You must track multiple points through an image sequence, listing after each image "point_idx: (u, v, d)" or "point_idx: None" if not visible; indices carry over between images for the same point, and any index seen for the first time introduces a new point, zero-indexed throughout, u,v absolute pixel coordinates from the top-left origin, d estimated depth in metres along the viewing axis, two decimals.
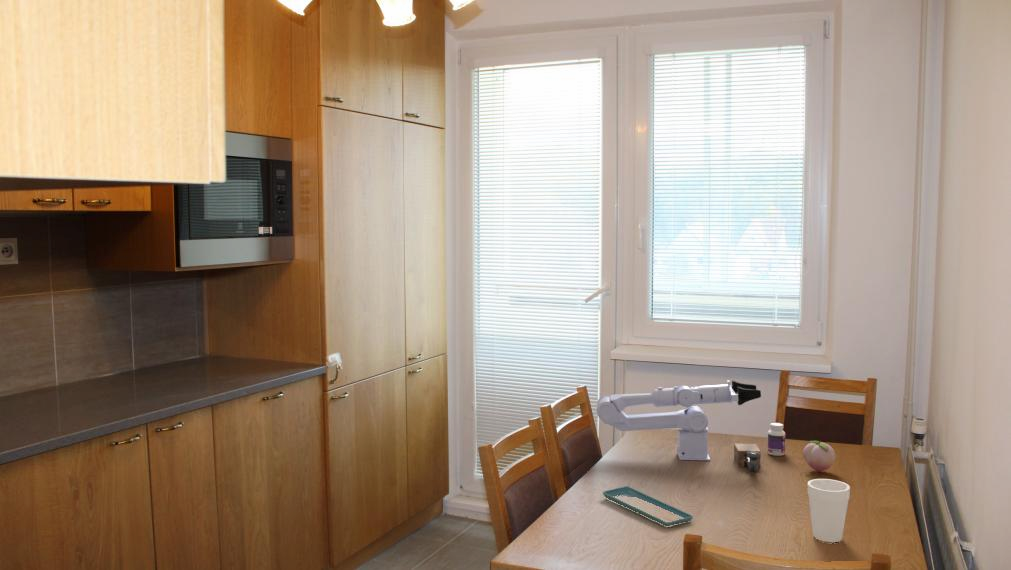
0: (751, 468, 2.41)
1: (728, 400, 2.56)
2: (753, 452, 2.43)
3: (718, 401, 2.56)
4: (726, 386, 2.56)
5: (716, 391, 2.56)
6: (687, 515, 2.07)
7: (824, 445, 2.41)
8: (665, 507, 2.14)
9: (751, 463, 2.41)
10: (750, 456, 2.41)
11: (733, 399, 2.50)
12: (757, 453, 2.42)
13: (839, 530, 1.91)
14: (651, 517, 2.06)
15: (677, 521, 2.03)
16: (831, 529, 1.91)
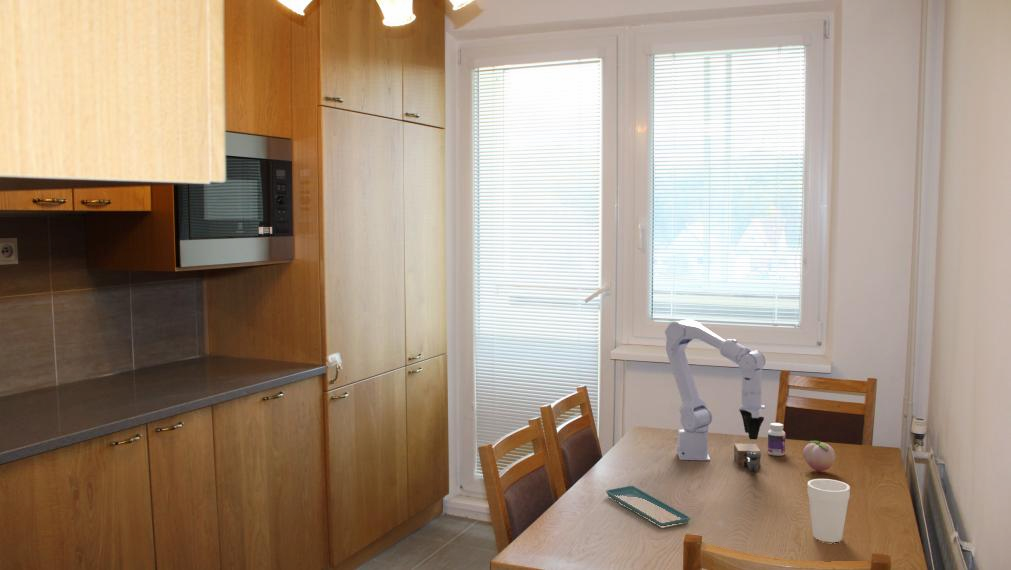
0: (751, 468, 2.41)
1: (746, 405, 2.44)
2: (753, 452, 2.43)
3: (745, 395, 2.44)
4: (760, 405, 2.44)
5: (757, 394, 2.43)
6: (685, 516, 2.06)
7: (824, 445, 2.41)
8: (665, 508, 2.13)
9: (751, 463, 2.41)
10: (750, 456, 2.41)
11: (754, 413, 2.39)
12: (757, 453, 2.42)
13: (839, 530, 1.91)
14: (648, 517, 2.06)
15: (673, 522, 2.02)
16: (831, 529, 1.91)
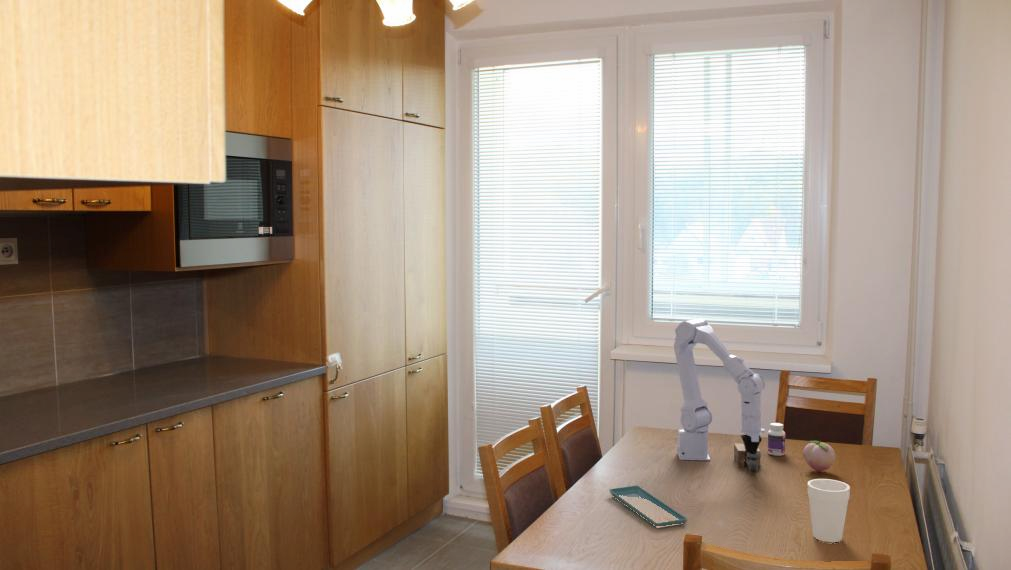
0: (751, 468, 2.41)
1: (745, 429, 2.44)
2: (753, 452, 2.42)
3: (745, 419, 2.44)
4: (760, 428, 2.45)
5: (757, 418, 2.43)
6: (682, 517, 2.05)
7: (824, 445, 2.41)
8: (665, 508, 2.13)
9: (751, 463, 2.41)
10: (750, 456, 2.40)
11: (753, 437, 2.39)
12: (757, 453, 2.41)
13: (839, 530, 1.91)
14: (644, 517, 2.06)
15: (668, 522, 2.02)
16: (831, 529, 1.91)
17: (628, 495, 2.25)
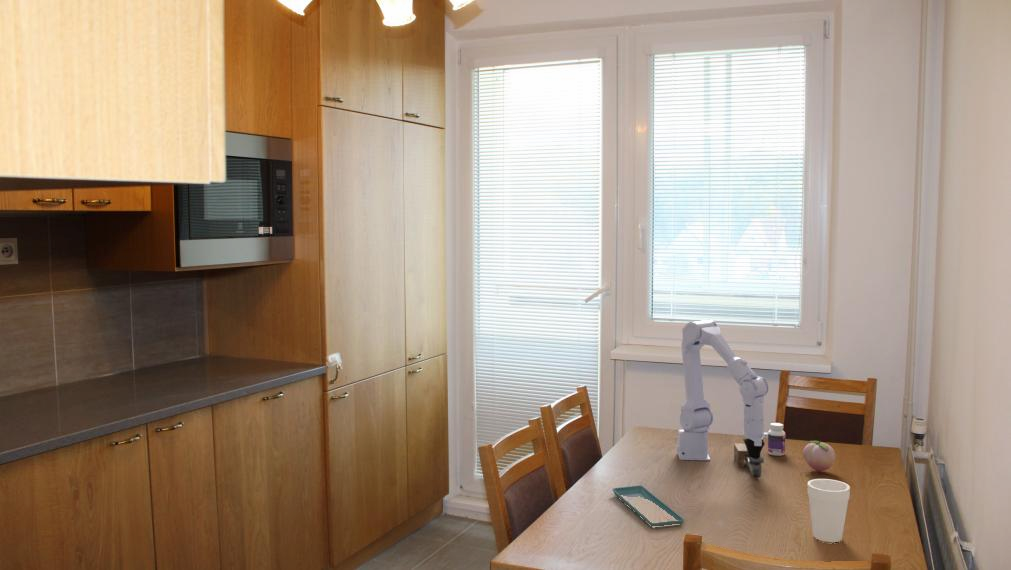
0: (754, 473, 2.37)
1: (748, 433, 2.40)
2: (756, 457, 2.38)
3: (748, 423, 2.40)
4: (763, 432, 2.40)
5: (760, 422, 2.39)
6: (680, 518, 2.05)
7: (824, 445, 2.41)
8: (665, 509, 2.12)
9: (754, 468, 2.37)
10: (753, 461, 2.36)
11: (756, 441, 2.35)
12: (760, 458, 2.37)
13: (839, 530, 1.91)
14: (642, 516, 2.07)
15: (664, 523, 2.02)
16: (831, 529, 1.91)
17: (631, 495, 2.25)
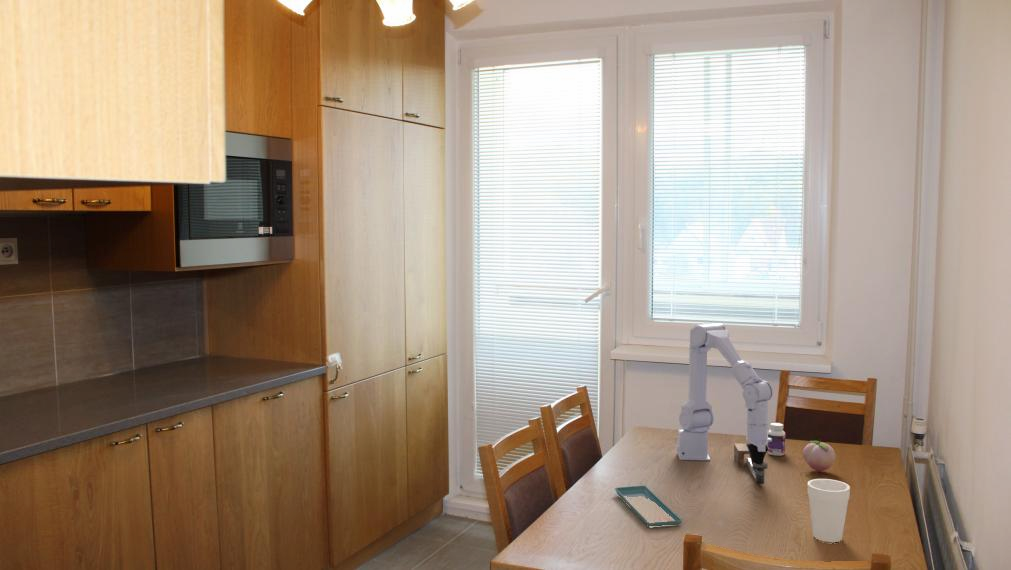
0: (757, 479, 2.31)
1: (751, 438, 2.34)
2: (759, 462, 2.32)
3: (751, 427, 2.34)
4: (766, 437, 2.34)
5: (763, 427, 2.33)
6: (678, 519, 2.04)
7: (824, 445, 2.41)
8: (665, 509, 2.12)
9: (757, 474, 2.31)
10: (756, 467, 2.30)
11: (760, 446, 2.29)
12: (764, 463, 2.31)
13: (839, 530, 1.91)
14: (640, 516, 2.07)
15: (661, 523, 2.02)
16: (831, 529, 1.91)
17: (634, 494, 2.25)
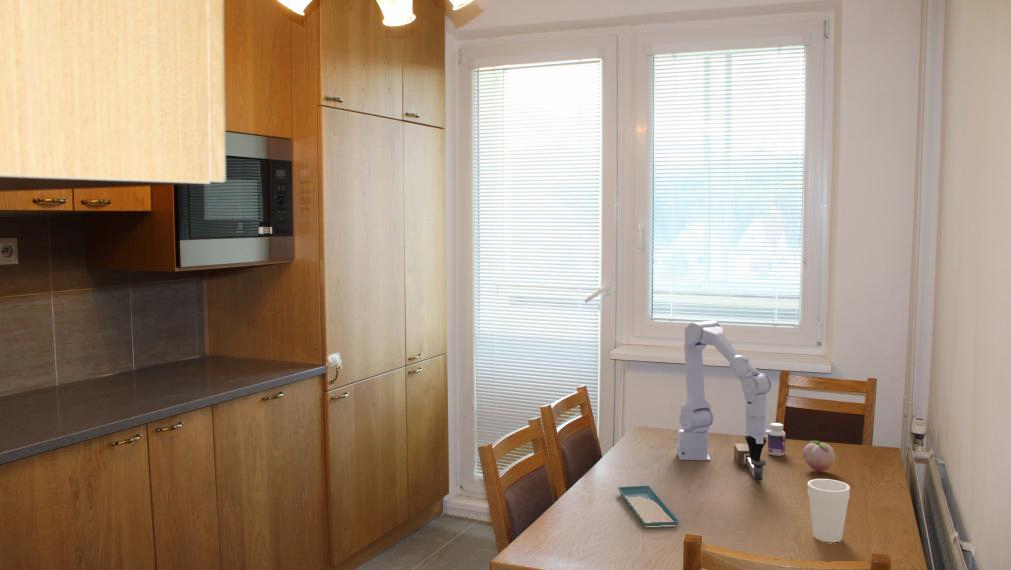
0: (756, 476, 2.34)
1: (750, 430, 2.37)
2: (758, 459, 2.35)
3: (749, 420, 2.37)
4: (765, 429, 2.37)
5: (762, 419, 2.36)
6: (675, 519, 2.04)
7: (824, 445, 2.41)
8: (665, 509, 2.12)
9: (756, 471, 2.34)
10: (755, 464, 2.33)
11: (758, 438, 2.32)
12: (762, 461, 2.34)
13: (839, 530, 1.91)
14: (638, 516, 2.07)
15: (658, 523, 2.02)
16: (831, 529, 1.91)
17: (636, 494, 2.25)
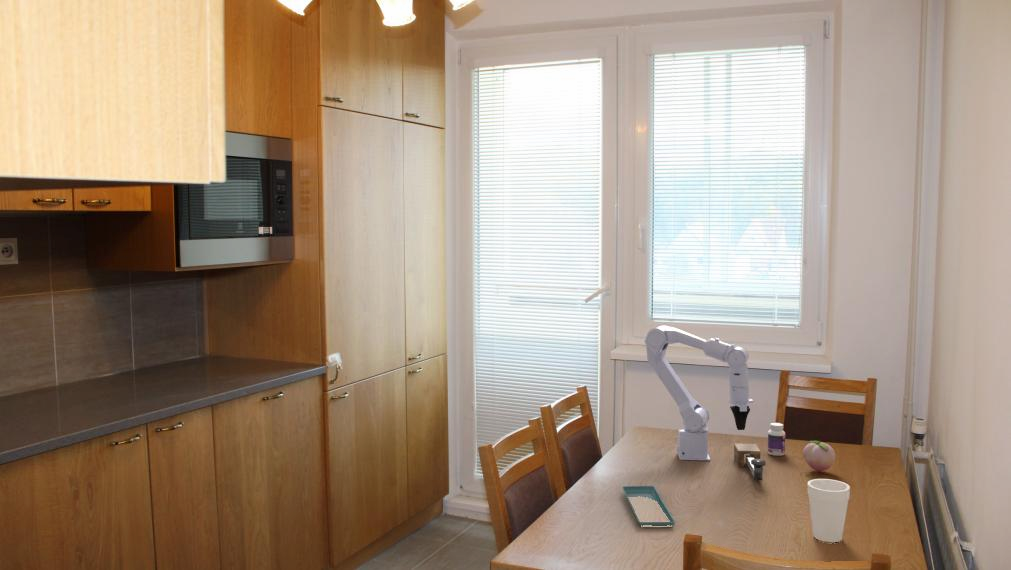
0: (756, 476, 2.34)
1: (734, 400, 2.51)
2: (758, 459, 2.35)
3: (733, 390, 2.51)
4: (748, 399, 2.52)
5: (744, 389, 2.50)
6: (672, 520, 2.03)
7: (824, 445, 2.41)
8: (664, 510, 2.12)
9: (756, 471, 2.34)
10: (755, 464, 2.33)
11: (742, 406, 2.46)
12: (762, 461, 2.34)
13: (839, 530, 1.91)
14: (635, 515, 2.07)
15: (653, 523, 2.02)
16: (831, 529, 1.91)
17: (640, 494, 2.25)
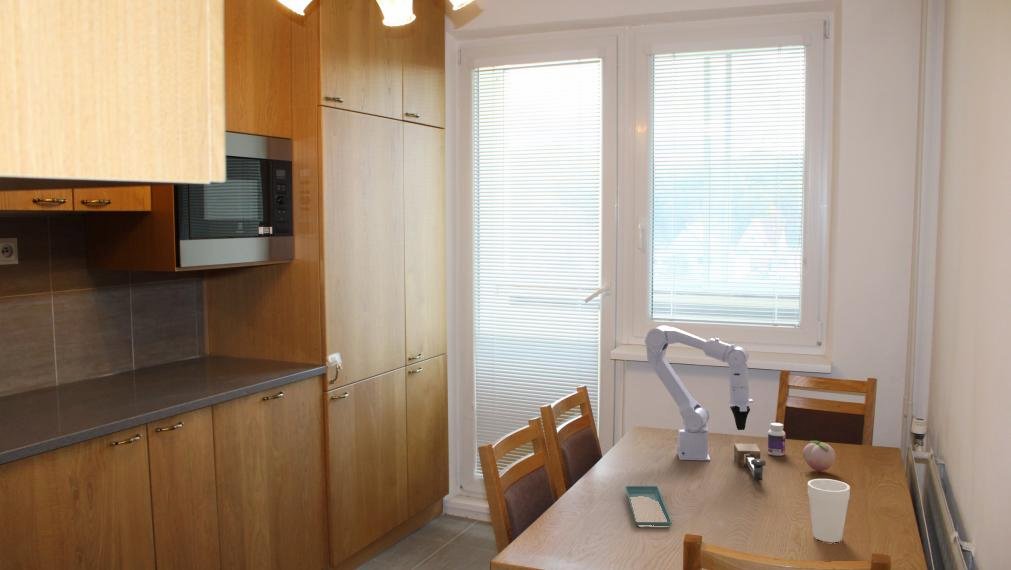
0: (756, 476, 2.34)
1: (734, 400, 2.51)
2: (758, 459, 2.35)
3: (733, 390, 2.51)
4: (748, 399, 2.52)
5: (744, 389, 2.50)
6: (669, 521, 2.03)
7: (824, 445, 2.41)
8: (663, 510, 2.11)
9: (756, 471, 2.34)
10: (755, 464, 2.33)
11: (742, 406, 2.46)
12: (762, 461, 2.34)
13: (839, 530, 1.91)
14: None
15: (649, 523, 2.02)
16: (831, 529, 1.91)
17: (643, 494, 2.25)
